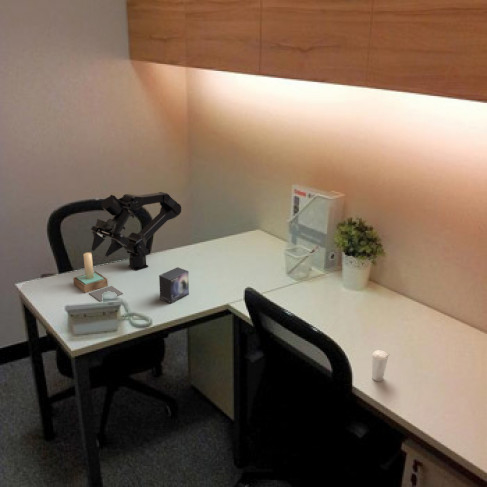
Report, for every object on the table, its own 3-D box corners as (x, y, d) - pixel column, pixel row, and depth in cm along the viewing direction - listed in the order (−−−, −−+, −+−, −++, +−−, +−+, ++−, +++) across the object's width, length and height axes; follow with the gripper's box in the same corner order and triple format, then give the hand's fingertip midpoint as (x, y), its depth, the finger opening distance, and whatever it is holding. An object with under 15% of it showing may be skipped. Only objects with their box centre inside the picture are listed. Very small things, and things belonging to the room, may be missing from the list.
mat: (111, 286, 222) (111, 285, 222) (123, 294, 215) (123, 293, 215) (89, 293, 216) (89, 292, 215) (100, 301, 209) (100, 300, 209)
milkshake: (380, 386, 160) (383, 357, 157) (366, 377, 164) (369, 348, 161) (390, 380, 163) (394, 352, 159) (376, 372, 167) (380, 344, 163)
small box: (171, 304, 208) (170, 279, 204) (159, 299, 211) (157, 275, 208) (190, 294, 216) (189, 270, 212) (178, 290, 219) (177, 266, 215)
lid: (94, 274, 227) (92, 248, 223) (103, 280, 221) (101, 254, 217) (76, 279, 222) (73, 253, 218) (85, 286, 216) (82, 259, 212)
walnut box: (96, 278, 229) (95, 271, 228) (107, 286, 222) (107, 278, 221) (73, 285, 223) (72, 277, 222) (85, 293, 216) (84, 285, 215)
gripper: (92, 206, 225) (72, 238, 221) (121, 215, 214) (100, 249, 210) (109, 220, 234) (90, 251, 230) (138, 229, 223) (118, 262, 219)
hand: (99, 253), depth 222 cm, fingers open, 9 cm apart
